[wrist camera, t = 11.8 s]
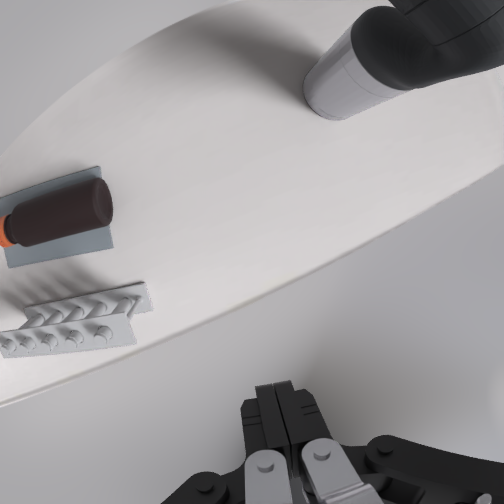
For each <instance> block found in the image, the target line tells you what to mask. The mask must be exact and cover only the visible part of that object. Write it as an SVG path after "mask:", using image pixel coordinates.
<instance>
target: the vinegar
mask: <svg viewBox="0 0 504 504" xmlns="http://www.w3.org/2000/svg"><path fill="white" fill-rule="evenodd" d="M112 217H113V204H112V198H111V194H110V191H109V188H108V186H107V184H106V183H105V181H104V180H103V179H101V178H99V177H95V178H92V179H89V180H85V181H82V182H79V183H76V184H73V185H70V186H67V187H64V188H61V189H58V190H55V191H52V192H49V193H46V194H43V195H40V196H38V197H35V198H32V199H30V200H27V201H24V202H22V203H19V204H18V205H17V206H15V207H14V209H13V211H12V213H11V214H8V215H5V216H3V217H0V245H1V246H2V247H5V248H6V247H9V246H12V245H15V244H17V243H18V244H20V245H21V246H23V247H30V246H34V245H37V244H41V243H44V242H48V241H52V240H55V239H59V238H63V237H67V236H70V235H74V234H78V233H82V232H86V231H90V230H94V229H98V228H102V227H106V226H108V225H109V224H110V222H111V221H112Z"/></svg>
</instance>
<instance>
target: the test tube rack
mask: <svg viewBox="0 0 504 504" xmlns="http://www.w3.org/2000/svg"><path fill="white" fill-rule="evenodd" d="M153 310H154V308H153V305H152V302H151V299H150V296H149V292H148V289H147V286H146V283H145V282H144V283H139V284H135V285H130V286H125V287H121V288H116V289H111V290H107V291H102V292H97V293H92V294H88V295H83V296H78V297H73V298H69V299H64V300H59V301H54V302H49V303H44V304H40V305H35V306H30V307H25V308H24V311H25V314H26V316H27V319H28V321H27V322H26V323H25V324H23V325H22V326H21V327H20V328H19V329H16V330H9V331H2V332H0V351H1V353H2V355H3V357H4V358H17V357H31V356H43V355H54V354H64V353H73V352H82V351H90V350H98V349H106V348H113V347H121V346H127V345H134V344H137V341H136V339H135V336H134V333H133V331H132V328H131V325H130V323H129V322H130V320H131V318H132V317H133V315H134V314H139V313H145V312H150V311H153ZM100 326H101V327H100ZM99 327H100V328H99ZM72 331H73V332H72ZM71 332H72V333H71ZM48 334H49V335H48ZM47 335H48V336H47ZM111 336H112V337H111ZM110 337H111V338H110ZM82 340H83V341H82ZM57 343H58V344H57ZM35 346H36V347H35ZM34 347H35V348H34Z"/></svg>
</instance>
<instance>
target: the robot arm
mask: <svg viewBox="0 0 504 504" xmlns="http://www.w3.org/2000/svg"><path fill="white" fill-rule="evenodd" d="M389 1H390V2H391V3H392V4H393V5H394V7H396V8H394V7H389V6H377V7H373V8H371V9H368V10H367V11H365V12H364V13H363V14H362V15H361V16H360V17H359V18H358V19H357V20H356V21H355V22H354V23H353V24H352V25H351V26H350V27H349V28H348V29H347V30H346V32H345V33H344V34H343V35H342V36H341V37H340V38H339V39H338V40H337V41H336V42H335V43H334V44H333V46H332V47H331V48H330V49H329V50H328V51H327V52H326V53H325V54H324V56H323V57H322V58H321V59H320V60H319V61H318V62H317V63H316V65H315V66H314V67H313V68H312V69H311V70H310V72H309V73H308V74H307V75H306V77H305V79H304V83H303V92H304V96H305V99H306V101H307V103H308V104H309V106H310V107H311V108H312V109H313V110H314V111H315V112H316V113H317V114H319V115H320V116H322V117H324V118H327V119H330V120H343V119H346V118H349V117H351V116H353V115H355V114H358V113H360V112H362V111H364V110H367V109H369V108H371V107H373V106H375V105H378V104H380V103H382V102H385V101H387V100H389V99H392V98H394V97H396V96H398V95H401V94H403V93H406V92H408V91H410V90H413V89H415V88H424V87H427V86H430V85H433V84H436V83H439V82H443V81H446V80H450V79H454V78H458V77H462V76H467V75H471V74H475V73H479V72H483V71H487V70H490V69H493V68H496V67H498V66H501V65H504V0H389ZM255 390H256V396H257V398H254V399H248V400H244V402H243V404H242V407H241V417H242V425H243V433H244V441H245V448H246V459H245V461H244V463H243V464H242V465H241V466H240V467H239V468H238V469H236V470H235V471H232V472H230V473H227V474H225V475H222V476H220V475H219V474H216V473H214V472H200V473H197V474H194V475H193V476H191V477H190V478H189V479H188V480H187V481H186V482H185V483H183V484H182V485H181V486H180V487H179V488H178V489H177V490H176V491H175V492H174V493H172V494H171V495H170V496H169V497H168V498H167V499H166V500H165V501H163V502H162V503H161V504H293V503H292V496H291V489H290V479H291V478H292V473H293V477H294V478H296V477H300V478H301V482H302V486H303V494H304V496H305V499H306V501H307V503H308V504H504V463H500V462H494V461H489V460H483V459H478V458H473V457H469V456H464V455H459V454H455V453H451V452H447V451H443V450H439V449H436V448H432V447H428V446H425V445H421V444H418V443H414V442H411V441H408V440H405V439H401V438H398V437H395V436H391V435H381V436H378V437H375V438H374V439H372V440H371V441H370V442H369V443H368V444H367V446H352V447H351V446H344V445H341V444H339V443H337V442H336V441H334V440H333V438H332V437H331V435H330V432H329V430H328V428H327V426H326V423H325V421H324V419H323V417H322V414H321V412H320V410H319V408H318V406H317V403H316V401H315V399H314V397H313V395H312V394H311V393H309V392H308V391H307V390H306V389H302V390H297V391H294V388H293V385H292V383H291V381H290V380H288V381H283V382H278V383H273V385H272V384H267V385H261V386H255ZM291 470H292V471H291Z"/></svg>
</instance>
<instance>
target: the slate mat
mask: <svg viewBox="0 0 504 504" xmlns="http://www.w3.org/2000/svg"><path fill="white" fill-rule="evenodd" d="M95 177H99V178H101V179H102V177H101V169H100V167H96V168H92V169H88V170H85V171H81V172H78V173H74V174H71V175H67V176H64V177H61V178H58V179H54V180H51V181H48V182H45V183H42V184H39V185H36V186H33V187H30V188H27V189H25V190H22V191H19V192H16V193H14V194H11V195H8V196H6V197H3V198H1V199H0V217H3V216H5V215H8V214H11V213H12V211H13V209H14V207H15V206H17V205H18V204H19V203H22V202H24V201H27V200H30V199H32V198H35V197H38V196H40V195H43V194H46V193H49V192H52V191H55V190H58V189H61V188H64V187H67V186H70V185H73V184H76V183H79V182H82V181H85V180H89V179H92V178H95ZM111 248H114V247H113V242H112V237H111V232H110V227H109V225H108V226H106V227H102V228H98V229H94V230H90V231H86V232H82V233H78V234H74V235H70V236H67V237H63V238H59V239H55V240H52V241H48V242H44V243H41V244H37V245H34V246H30V247H23V246H21V245H20V244H18V243H17V244H15V245H12V246H9V247H6V248H5V247H4V250H5V255H6V259H7V263H8V267H9V268H13V267H18V266H23V265H28V264H33V263H38V262H43V261H48V260H53V259H58V258H63V257H68V256H74V255H79V254H84V253H90V252H95V251H100V250H106V249H111Z"/></svg>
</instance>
